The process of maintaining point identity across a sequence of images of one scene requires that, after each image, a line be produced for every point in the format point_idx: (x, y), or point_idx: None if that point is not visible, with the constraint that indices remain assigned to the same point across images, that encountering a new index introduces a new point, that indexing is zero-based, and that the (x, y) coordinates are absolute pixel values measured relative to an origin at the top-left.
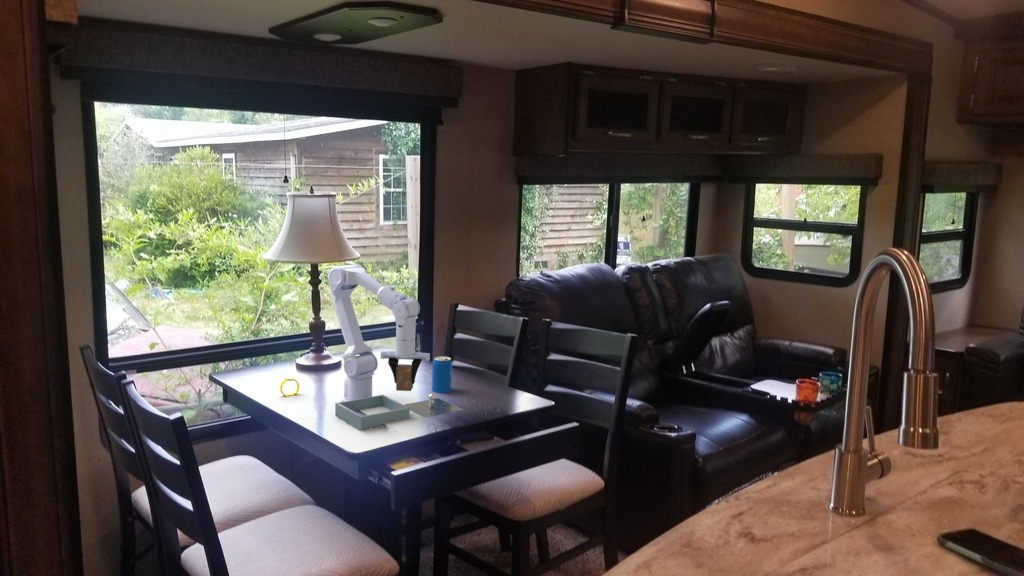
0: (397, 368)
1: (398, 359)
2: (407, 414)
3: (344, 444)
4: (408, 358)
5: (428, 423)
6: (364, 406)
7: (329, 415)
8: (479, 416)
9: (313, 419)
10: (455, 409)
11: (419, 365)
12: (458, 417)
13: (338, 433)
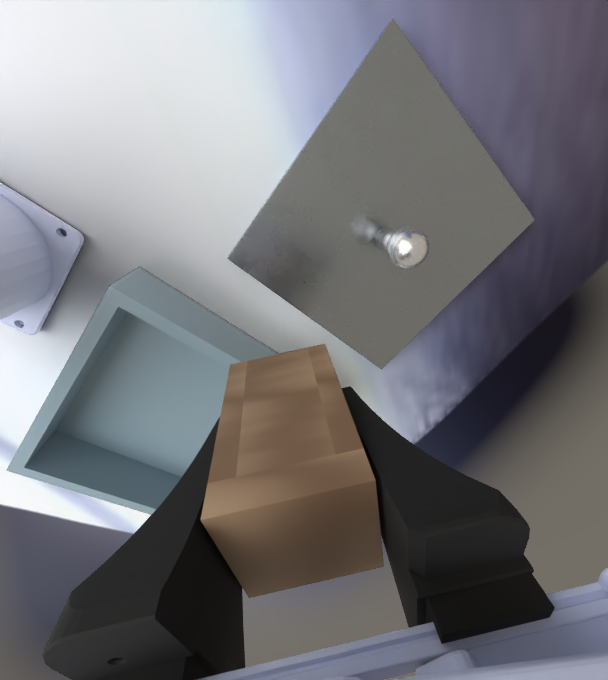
0: (258, 589)
1: (175, 593)
2: None
3: None
4: (368, 671)
5: (395, 381)
6: (94, 360)
7: (22, 430)
8: (585, 245)
9: (12, 474)
10: (499, 231)
11: (447, 471)
12: (498, 286)
13: None
